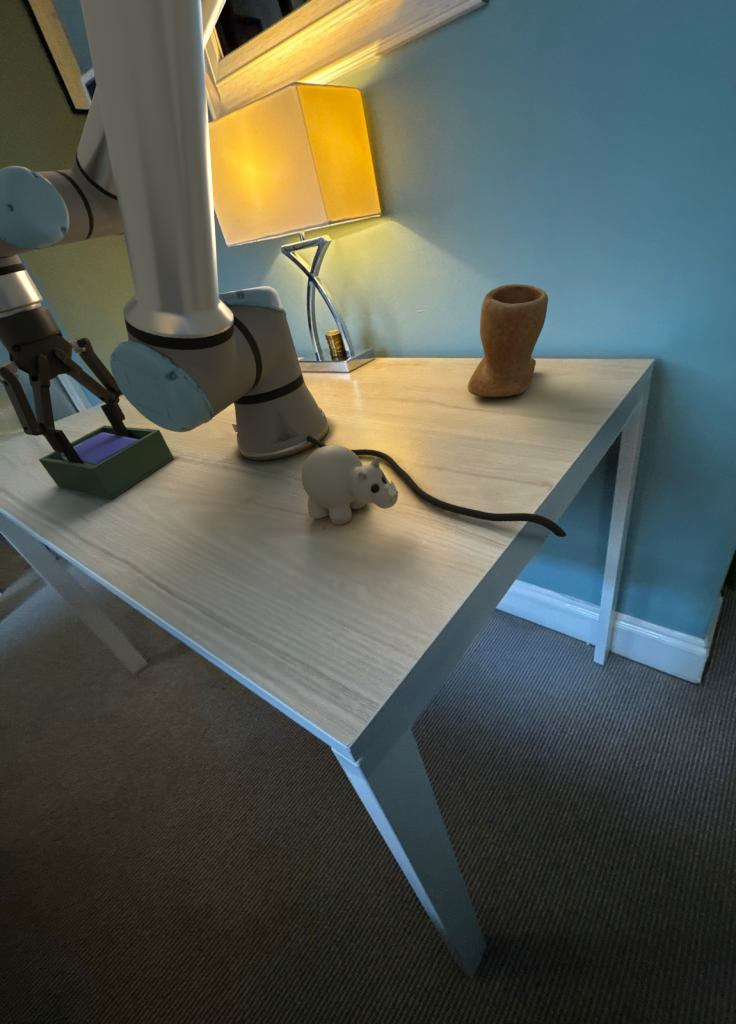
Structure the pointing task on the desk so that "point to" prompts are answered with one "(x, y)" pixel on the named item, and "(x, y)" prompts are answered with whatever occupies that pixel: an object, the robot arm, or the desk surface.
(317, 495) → the chubby cartoon animal
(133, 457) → the tub
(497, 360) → the brown clay boot vase
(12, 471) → the desk surface
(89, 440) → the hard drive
